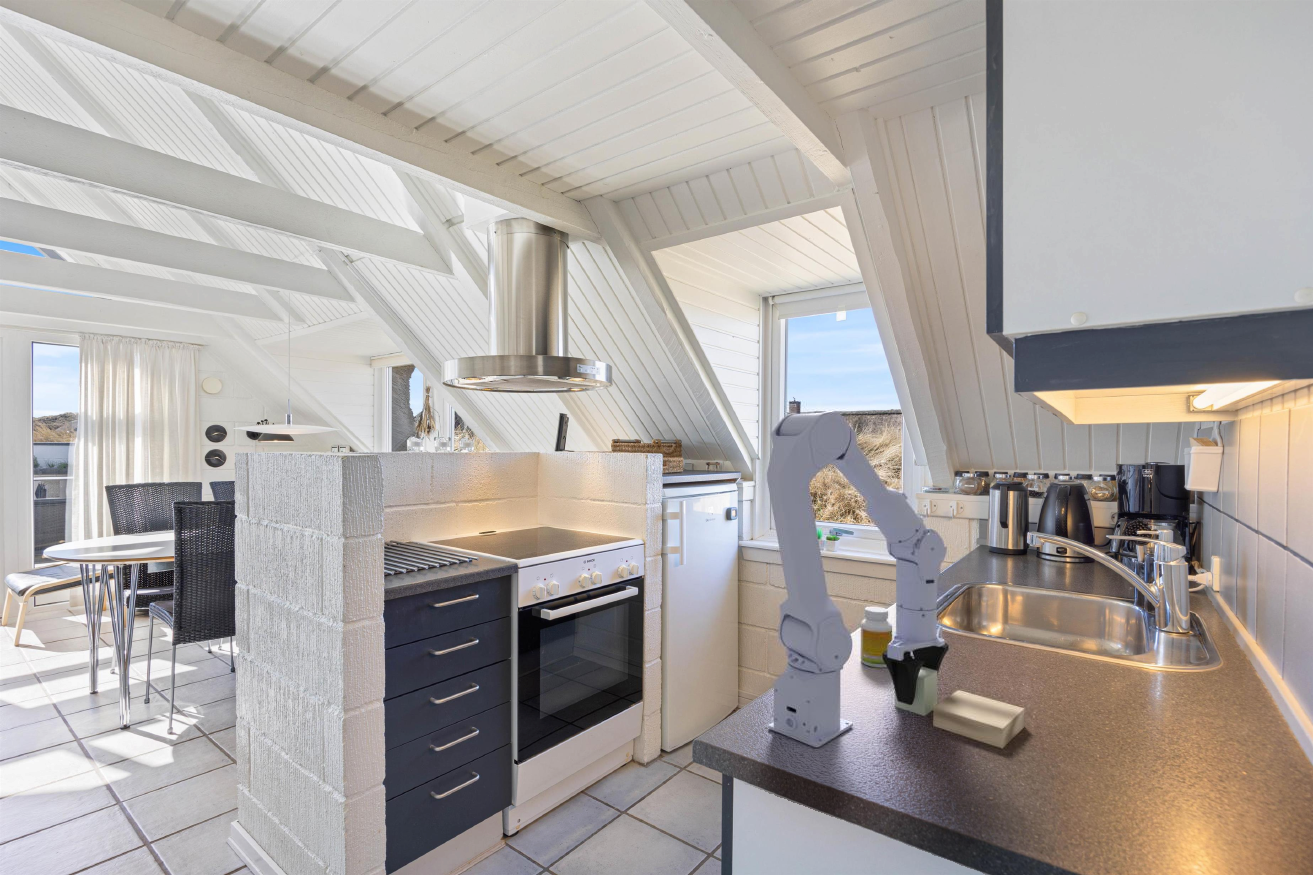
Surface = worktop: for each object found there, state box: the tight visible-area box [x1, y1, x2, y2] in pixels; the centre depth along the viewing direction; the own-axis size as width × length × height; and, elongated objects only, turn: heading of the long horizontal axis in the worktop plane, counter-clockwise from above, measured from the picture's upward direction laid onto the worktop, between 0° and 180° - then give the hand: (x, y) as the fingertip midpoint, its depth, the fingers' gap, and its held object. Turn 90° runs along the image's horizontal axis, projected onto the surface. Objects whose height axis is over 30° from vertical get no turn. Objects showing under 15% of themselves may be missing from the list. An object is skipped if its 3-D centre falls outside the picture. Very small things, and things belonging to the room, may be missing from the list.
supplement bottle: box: [860, 606, 893, 669], centre depth 115 cm, size 5×5×10 cm
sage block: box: [894, 667, 938, 717], centre depth 96 cm, size 4×4×6 cm
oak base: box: [932, 689, 1026, 749], centre depth 90 cm, size 9×9×3 cm
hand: (915, 695), depth 96 cm, fingers open, 7 cm apart
